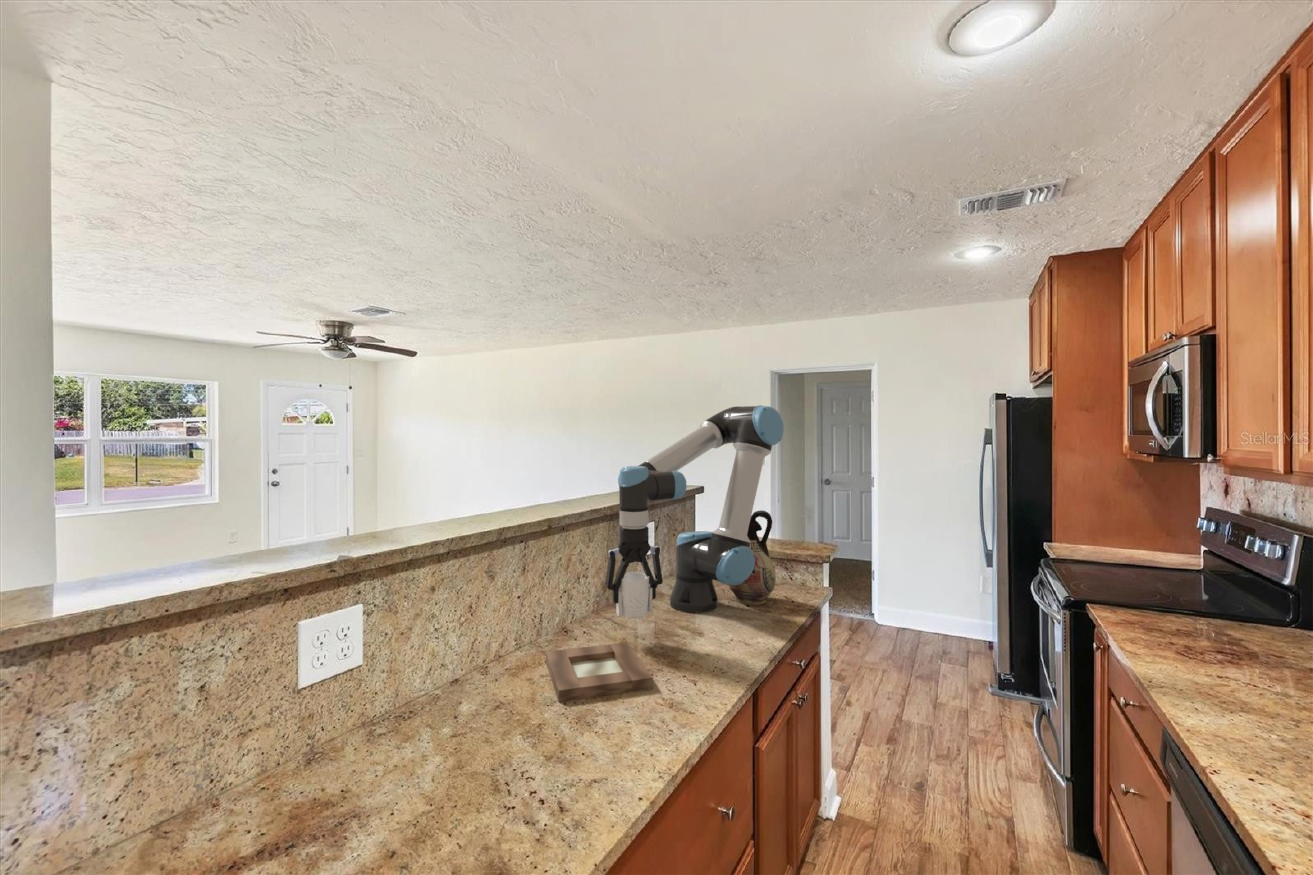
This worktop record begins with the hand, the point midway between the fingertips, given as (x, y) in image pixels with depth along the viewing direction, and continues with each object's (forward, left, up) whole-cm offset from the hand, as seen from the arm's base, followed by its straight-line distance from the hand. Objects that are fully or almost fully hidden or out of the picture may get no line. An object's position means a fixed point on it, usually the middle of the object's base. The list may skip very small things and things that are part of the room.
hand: (634, 613), depth 144 cm
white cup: (0, 0, -1) cm, 1 cm away
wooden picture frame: (+14, +16, -7) cm, 22 cm away
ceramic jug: (-46, -21, -8) cm, 51 cm away
